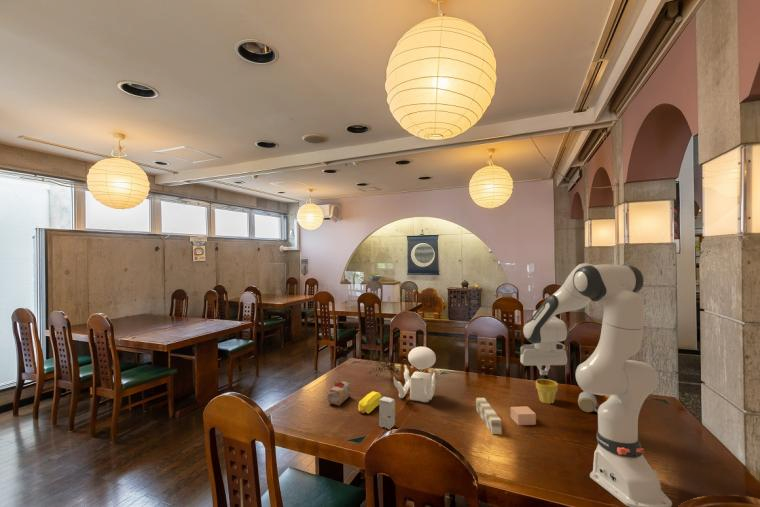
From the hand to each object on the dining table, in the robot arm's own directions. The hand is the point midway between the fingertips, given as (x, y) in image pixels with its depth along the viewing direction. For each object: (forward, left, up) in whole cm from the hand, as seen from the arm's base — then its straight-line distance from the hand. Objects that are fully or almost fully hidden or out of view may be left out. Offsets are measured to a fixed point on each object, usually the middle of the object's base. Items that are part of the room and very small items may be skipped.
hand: (543, 374), depth 160 cm
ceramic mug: (+9, -27, -21) cm, 35 cm away
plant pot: (+21, -11, -21) cm, 32 cm away
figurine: (+28, +55, -21) cm, 65 cm away
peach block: (0, +10, -21) cm, 23 cm away
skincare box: (-3, +72, -21) cm, 75 cm away
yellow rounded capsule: (+17, +80, -21) cm, 84 cm away
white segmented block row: (0, +26, -21) cm, 33 cm away
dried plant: (+60, +82, -21) cm, 104 cm away
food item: (+26, +97, -21) cm, 103 cm away
